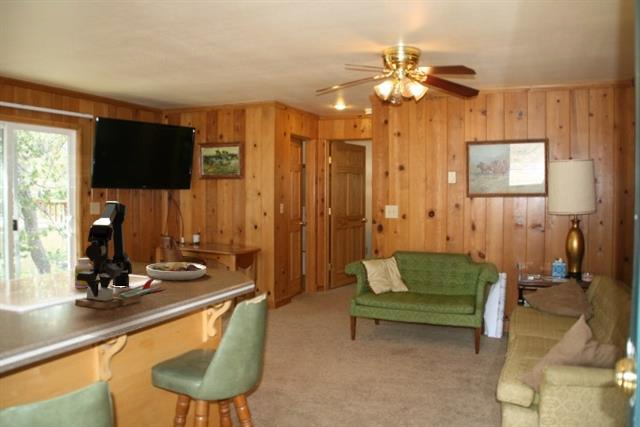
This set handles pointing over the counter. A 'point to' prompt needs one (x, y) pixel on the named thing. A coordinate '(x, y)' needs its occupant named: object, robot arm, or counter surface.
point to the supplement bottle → (82, 267)
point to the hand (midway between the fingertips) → (99, 295)
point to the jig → (108, 301)
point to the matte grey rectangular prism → (101, 294)
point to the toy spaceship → (142, 289)
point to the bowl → (176, 271)
